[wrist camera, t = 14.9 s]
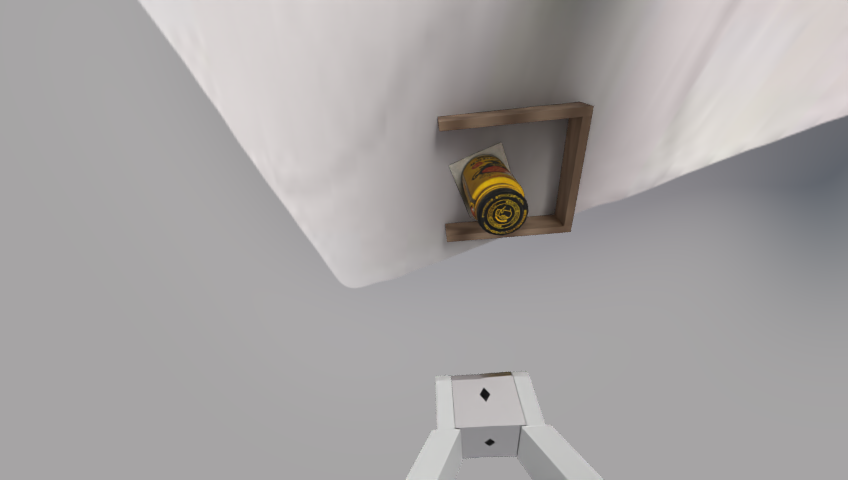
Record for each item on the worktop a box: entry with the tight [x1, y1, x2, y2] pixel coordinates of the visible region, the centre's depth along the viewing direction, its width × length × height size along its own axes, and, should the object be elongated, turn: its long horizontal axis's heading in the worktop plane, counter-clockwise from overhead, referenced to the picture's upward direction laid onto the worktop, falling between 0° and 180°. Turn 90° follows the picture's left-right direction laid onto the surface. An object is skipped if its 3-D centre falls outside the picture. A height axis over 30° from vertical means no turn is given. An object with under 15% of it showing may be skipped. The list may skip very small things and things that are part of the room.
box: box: [438, 102, 594, 242], centre depth 39 cm, size 17×16×4 cm
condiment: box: [449, 142, 528, 236], centre depth 36 cm, size 7×8×12 cm
